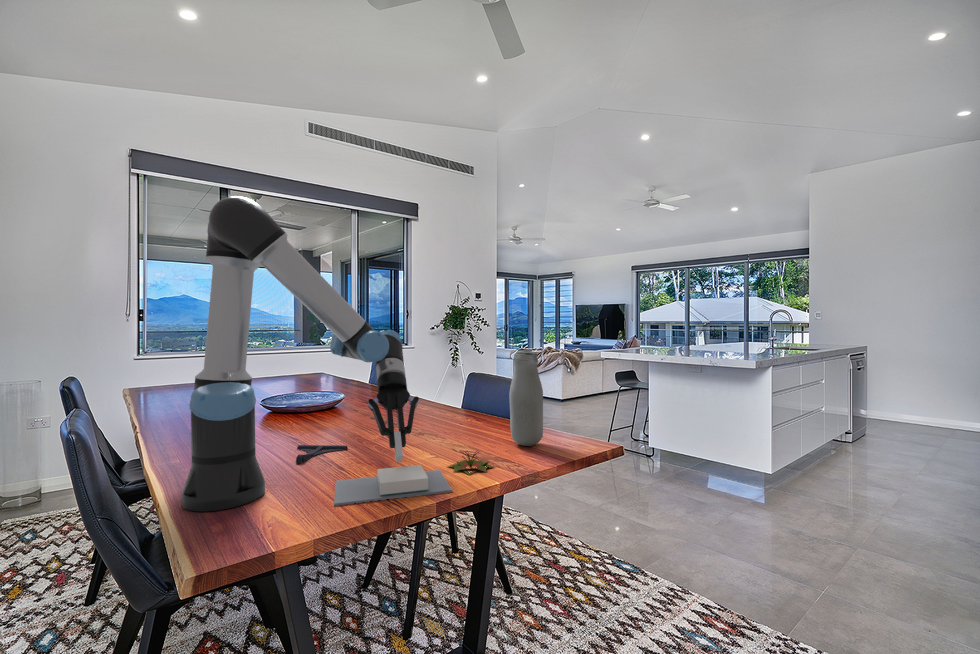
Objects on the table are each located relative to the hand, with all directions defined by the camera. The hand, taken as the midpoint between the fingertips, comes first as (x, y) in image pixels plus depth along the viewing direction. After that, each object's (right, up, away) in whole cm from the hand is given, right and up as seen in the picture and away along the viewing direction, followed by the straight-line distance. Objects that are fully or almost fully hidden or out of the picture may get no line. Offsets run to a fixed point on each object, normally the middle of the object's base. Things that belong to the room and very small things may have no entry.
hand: (399, 458), depth 107 cm
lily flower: (+16, -5, +8) cm, 19 cm away
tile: (0, -3, -1) cm, 3 cm away
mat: (-1, -5, -5) cm, 7 cm away
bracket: (-28, -6, +20) cm, 35 cm away
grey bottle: (+32, -4, +29) cm, 43 cm away
